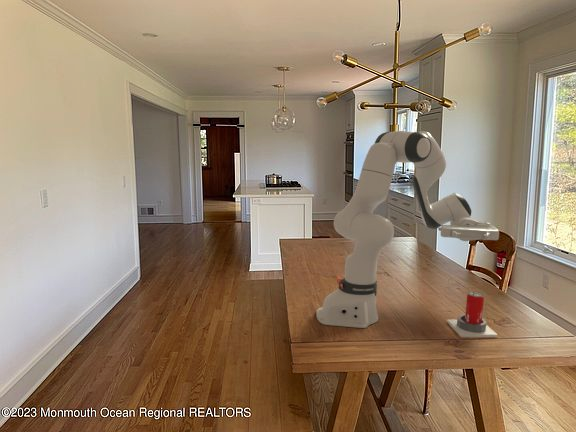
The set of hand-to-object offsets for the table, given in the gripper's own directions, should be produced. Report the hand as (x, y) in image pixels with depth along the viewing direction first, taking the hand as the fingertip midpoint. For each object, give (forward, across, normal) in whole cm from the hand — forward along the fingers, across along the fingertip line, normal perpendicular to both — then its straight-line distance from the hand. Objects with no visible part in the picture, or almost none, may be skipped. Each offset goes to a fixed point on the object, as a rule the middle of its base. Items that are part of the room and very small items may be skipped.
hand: (472, 236), depth 151 cm
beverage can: (+13, 0, +29) cm, 32 cm away
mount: (+12, 0, +30) cm, 32 cm away
